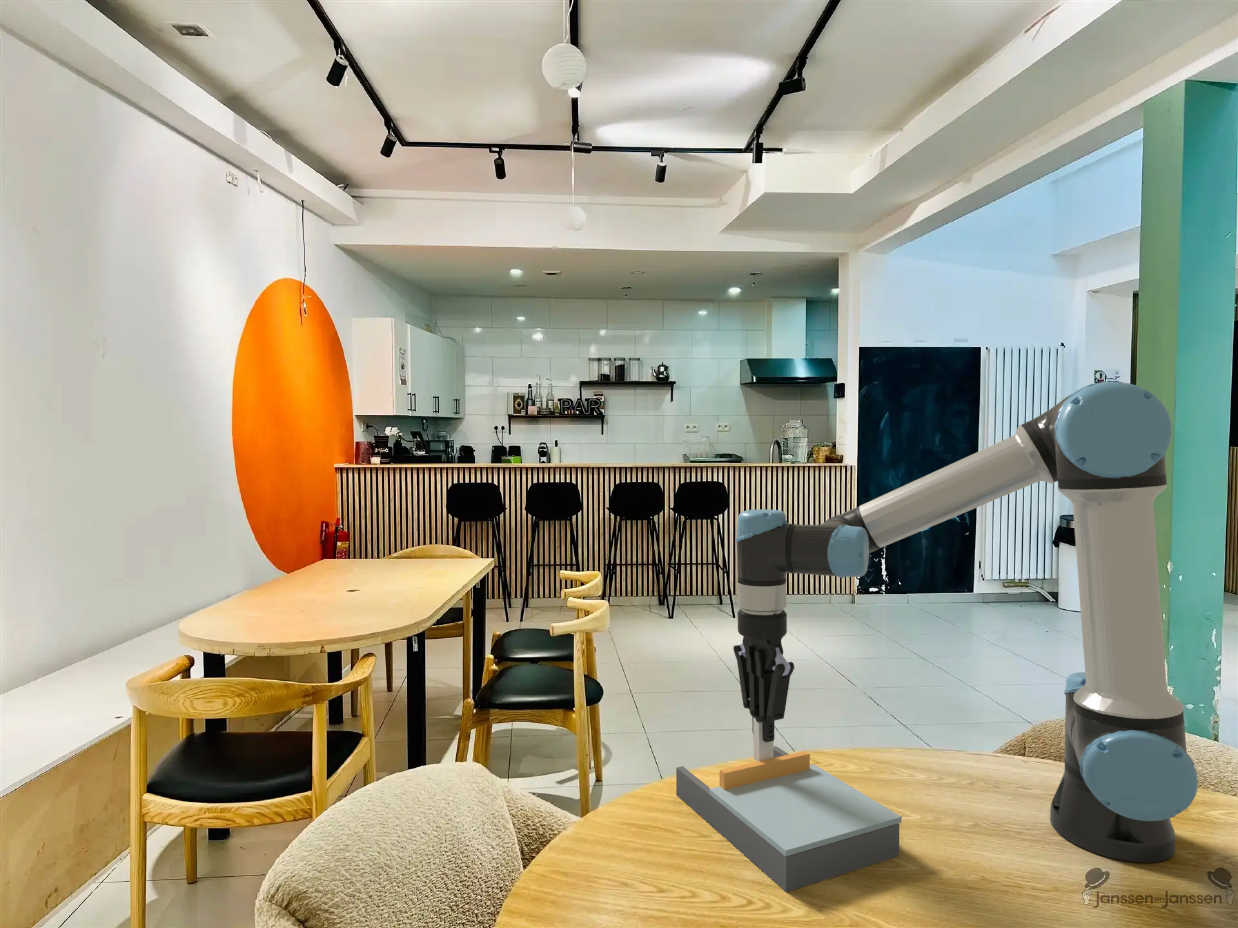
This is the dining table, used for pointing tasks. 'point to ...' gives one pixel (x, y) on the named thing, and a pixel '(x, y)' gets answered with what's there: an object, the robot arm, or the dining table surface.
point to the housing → (772, 862)
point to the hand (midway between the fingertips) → (763, 758)
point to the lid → (798, 803)
